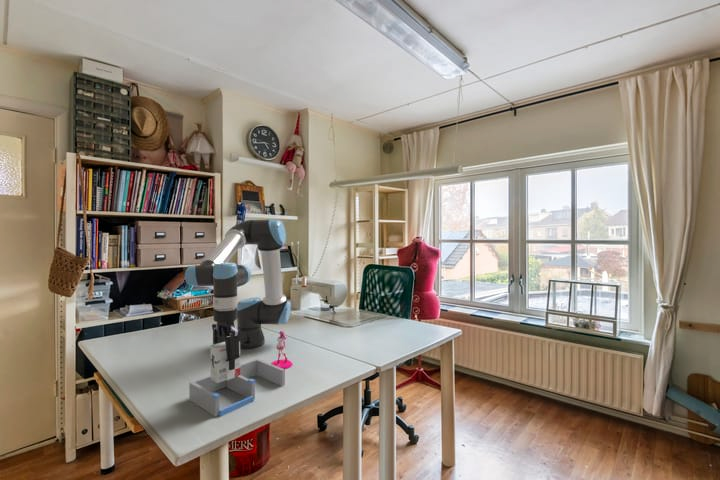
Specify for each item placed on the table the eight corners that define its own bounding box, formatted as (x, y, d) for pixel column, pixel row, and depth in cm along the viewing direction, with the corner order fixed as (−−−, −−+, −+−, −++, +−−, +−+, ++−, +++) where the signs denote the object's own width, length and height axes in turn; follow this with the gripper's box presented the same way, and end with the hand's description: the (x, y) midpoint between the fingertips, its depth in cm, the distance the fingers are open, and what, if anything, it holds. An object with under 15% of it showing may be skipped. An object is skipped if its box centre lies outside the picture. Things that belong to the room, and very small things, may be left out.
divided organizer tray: (189, 399, 117) (189, 380, 117) (257, 373, 139) (257, 357, 139) (216, 418, 106) (216, 397, 106) (286, 385, 128) (286, 368, 128)
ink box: (233, 371, 121) (233, 338, 120) (241, 375, 117) (240, 341, 117) (209, 379, 114) (209, 344, 114) (217, 383, 111) (217, 347, 110)
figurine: (268, 362, 150) (268, 329, 149) (290, 359, 154) (290, 326, 153) (271, 371, 141) (271, 335, 140) (294, 367, 145) (294, 332, 144)
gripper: (201, 306, 118) (201, 373, 118) (230, 314, 107) (230, 387, 107) (221, 303, 124) (221, 366, 124) (250, 310, 112) (250, 379, 113)
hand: (225, 376), depth 116 cm, fingers closed on ink box, 5 cm apart
